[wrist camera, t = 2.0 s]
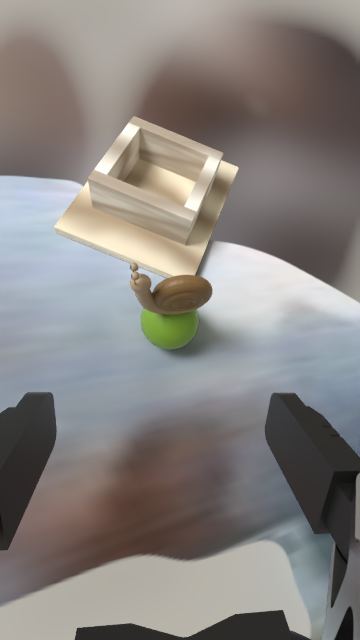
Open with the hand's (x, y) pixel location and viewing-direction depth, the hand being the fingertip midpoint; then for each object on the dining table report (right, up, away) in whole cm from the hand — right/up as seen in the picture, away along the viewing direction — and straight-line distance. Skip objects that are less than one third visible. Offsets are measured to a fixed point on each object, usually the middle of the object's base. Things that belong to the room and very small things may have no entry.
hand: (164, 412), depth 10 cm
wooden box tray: (-2, +19, +25) cm, 31 cm away
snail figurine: (-1, +2, +18) cm, 19 cm away
